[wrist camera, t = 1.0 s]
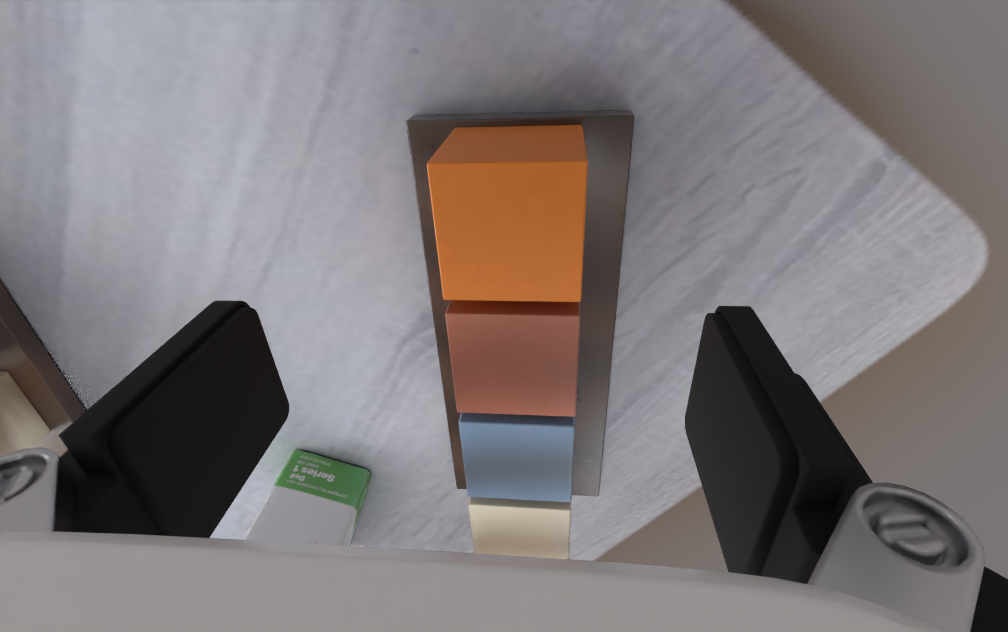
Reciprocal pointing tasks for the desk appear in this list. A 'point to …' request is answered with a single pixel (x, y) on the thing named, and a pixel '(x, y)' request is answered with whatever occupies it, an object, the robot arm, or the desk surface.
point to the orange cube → (510, 212)
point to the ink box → (312, 502)
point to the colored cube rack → (530, 355)
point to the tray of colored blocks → (30, 388)
